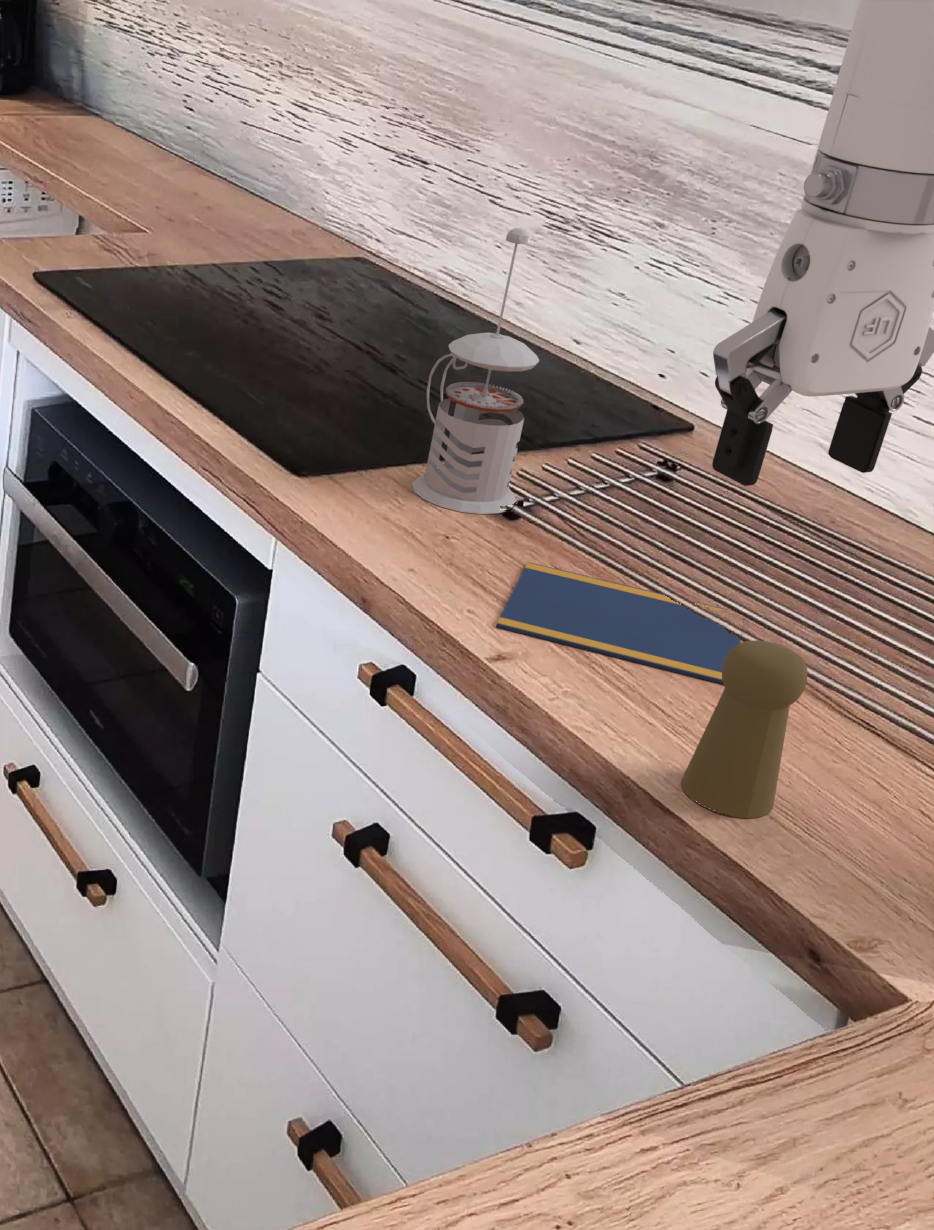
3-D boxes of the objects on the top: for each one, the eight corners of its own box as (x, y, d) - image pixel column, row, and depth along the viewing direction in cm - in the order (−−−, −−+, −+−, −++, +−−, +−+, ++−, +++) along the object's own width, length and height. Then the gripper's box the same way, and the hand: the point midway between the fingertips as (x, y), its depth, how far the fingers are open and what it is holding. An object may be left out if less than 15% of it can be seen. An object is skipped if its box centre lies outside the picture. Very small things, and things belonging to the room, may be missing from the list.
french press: (458, 519, 156) (515, 246, 144) (378, 473, 165) (426, 211, 153) (539, 506, 160) (600, 240, 149) (457, 462, 169) (509, 207, 158)
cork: (676, 763, 120) (717, 622, 114) (766, 779, 119) (812, 638, 113) (685, 808, 114) (729, 662, 109) (780, 825, 113) (828, 679, 108)
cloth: (744, 616, 142) (745, 613, 142) (731, 686, 131) (732, 682, 131) (526, 564, 148) (527, 561, 148) (495, 627, 137) (496, 623, 136)
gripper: (815, 212, 92) (730, 507, 100) (1036, 206, 99) (939, 482, 107) (715, 179, 98) (642, 459, 106) (930, 175, 105) (846, 439, 113)
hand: (792, 471), depth 106 cm, fingers open, 9 cm apart
